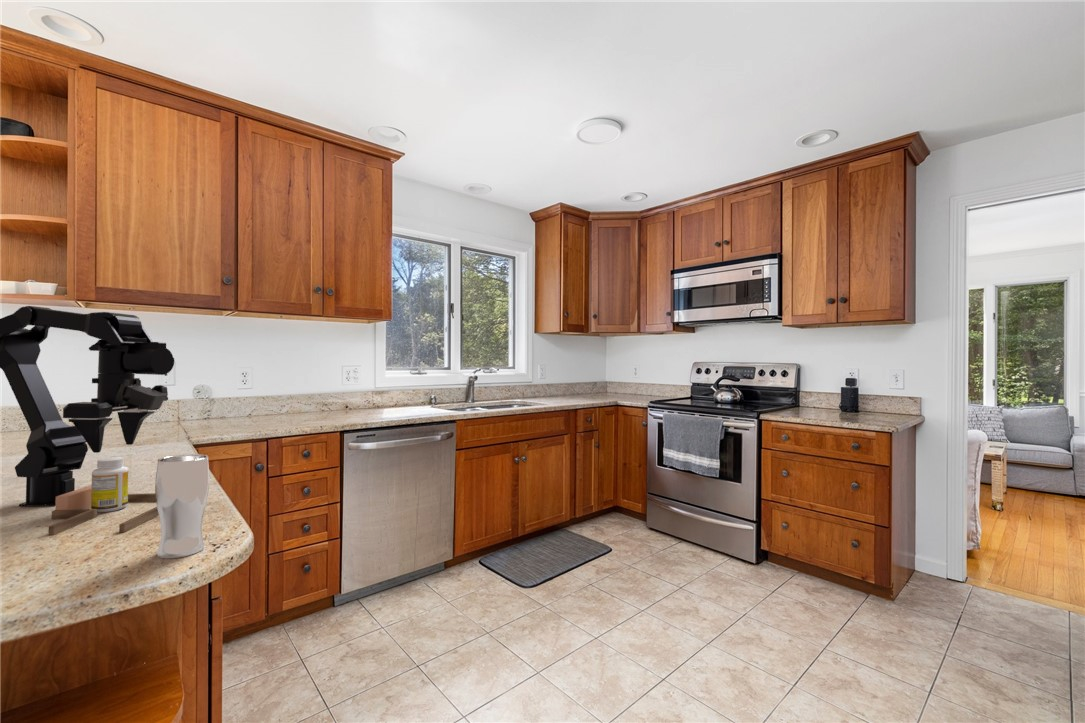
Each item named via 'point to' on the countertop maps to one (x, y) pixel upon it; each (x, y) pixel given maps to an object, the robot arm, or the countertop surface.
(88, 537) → the countertop surface
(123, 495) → the supplement bottle
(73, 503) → the stop block
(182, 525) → the beer glass
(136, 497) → the walnut track
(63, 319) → the robot arm
